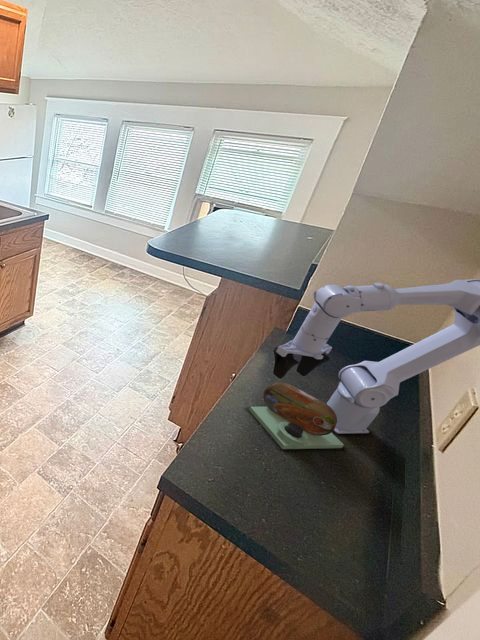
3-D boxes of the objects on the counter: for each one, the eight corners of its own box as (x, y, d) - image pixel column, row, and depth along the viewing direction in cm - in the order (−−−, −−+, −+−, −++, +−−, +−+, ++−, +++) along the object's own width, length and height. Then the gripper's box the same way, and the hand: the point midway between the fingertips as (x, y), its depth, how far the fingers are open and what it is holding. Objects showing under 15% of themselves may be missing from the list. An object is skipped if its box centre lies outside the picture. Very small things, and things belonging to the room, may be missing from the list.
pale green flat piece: (302, 409, 102) (307, 401, 100) (343, 449, 91) (349, 441, 90) (248, 409, 100) (253, 401, 98) (283, 451, 89) (289, 442, 88)
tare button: (293, 427, 92) (296, 422, 91) (303, 437, 90) (306, 432, 89) (282, 427, 92) (285, 422, 91) (291, 438, 89) (295, 433, 88)
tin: (257, 402, 101) (271, 378, 97) (262, 398, 103) (275, 374, 99) (324, 443, 91) (342, 418, 87) (328, 437, 92) (346, 412, 88)
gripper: (306, 344, 86) (279, 388, 93) (354, 340, 90) (325, 383, 96) (280, 325, 92) (256, 368, 99) (326, 323, 96) (300, 364, 102)
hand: (288, 374), depth 98 cm, fingers open, 7 cm apart
